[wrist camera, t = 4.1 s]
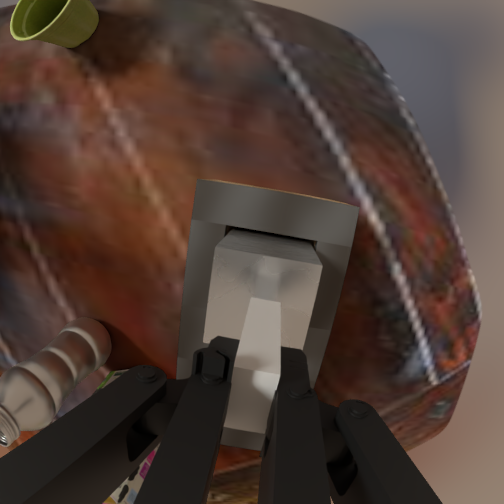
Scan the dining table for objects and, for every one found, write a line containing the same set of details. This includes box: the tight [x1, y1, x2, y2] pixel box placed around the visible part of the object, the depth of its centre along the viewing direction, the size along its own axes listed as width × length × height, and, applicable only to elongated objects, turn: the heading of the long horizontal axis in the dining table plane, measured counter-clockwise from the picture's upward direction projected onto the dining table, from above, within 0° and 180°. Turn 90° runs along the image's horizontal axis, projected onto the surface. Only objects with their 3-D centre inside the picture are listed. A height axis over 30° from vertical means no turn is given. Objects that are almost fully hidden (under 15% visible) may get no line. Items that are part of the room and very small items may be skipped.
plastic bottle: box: [0, 317, 112, 447], centre depth 26 cm, size 6×7×20 cm
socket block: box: [176, 179, 360, 451], centre depth 29 cm, size 12×25×8 cm, turn 171°
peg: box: [203, 228, 323, 350], centre depth 22 cm, size 6×6×8 cm
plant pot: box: [10, 0, 99, 48], centre depth 24 cm, size 9×9×9 cm
